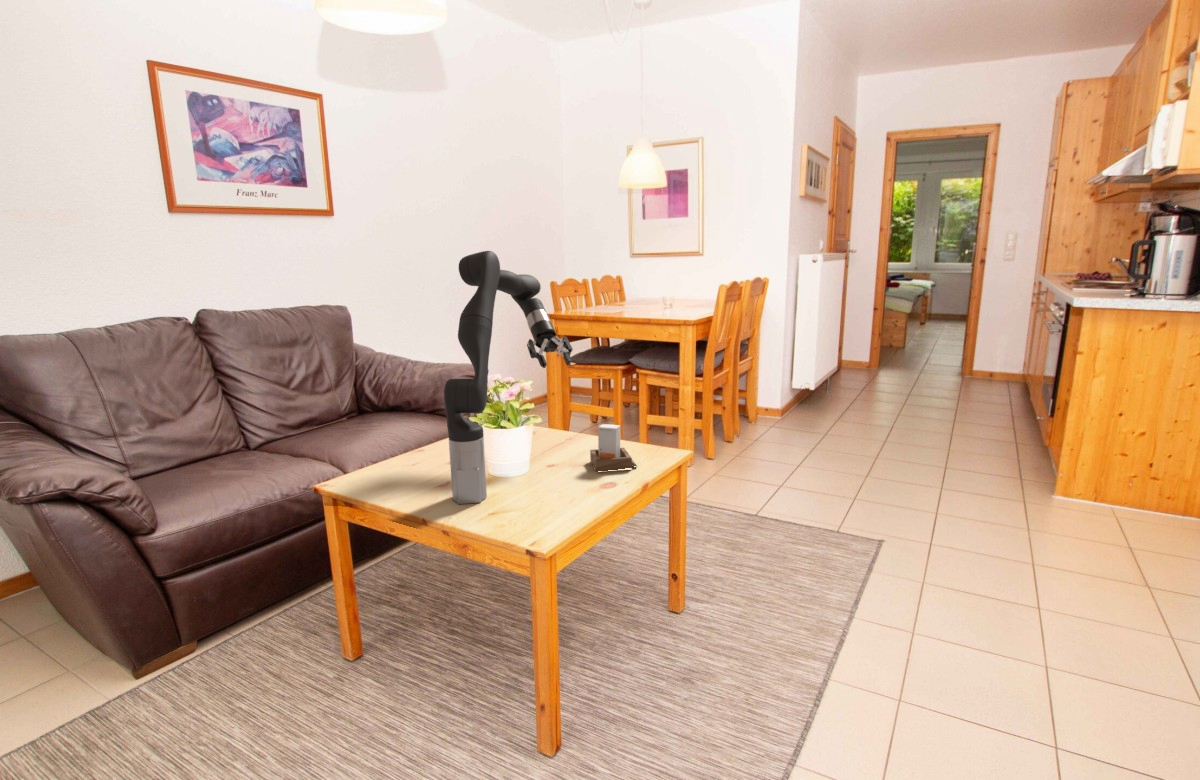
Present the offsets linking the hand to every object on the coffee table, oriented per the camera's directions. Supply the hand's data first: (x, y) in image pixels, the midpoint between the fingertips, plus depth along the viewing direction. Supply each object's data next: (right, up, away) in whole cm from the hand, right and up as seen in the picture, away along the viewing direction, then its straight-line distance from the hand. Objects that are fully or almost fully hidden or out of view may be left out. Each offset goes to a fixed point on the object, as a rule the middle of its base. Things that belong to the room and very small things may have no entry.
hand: (557, 365), depth 201 cm
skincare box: (+17, -31, -4) cm, 35 cm away
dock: (+18, -32, -3) cm, 37 cm away
